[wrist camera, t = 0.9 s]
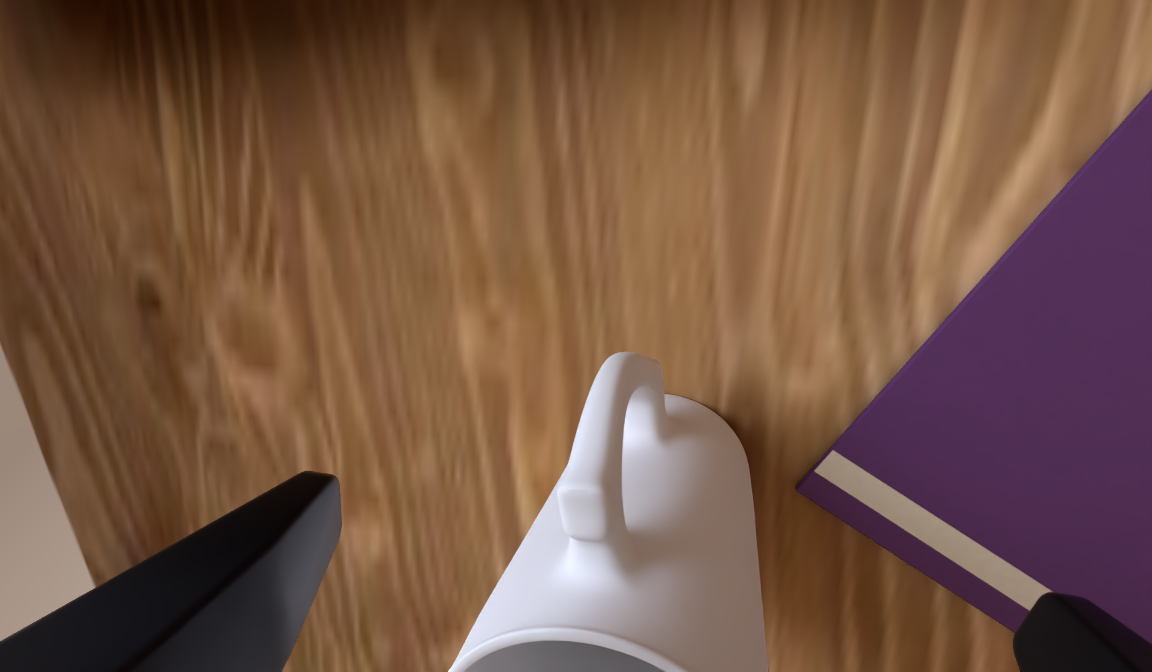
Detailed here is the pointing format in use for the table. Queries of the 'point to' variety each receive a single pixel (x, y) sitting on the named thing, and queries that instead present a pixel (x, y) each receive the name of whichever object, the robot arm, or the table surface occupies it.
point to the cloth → (1027, 414)
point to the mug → (634, 546)
